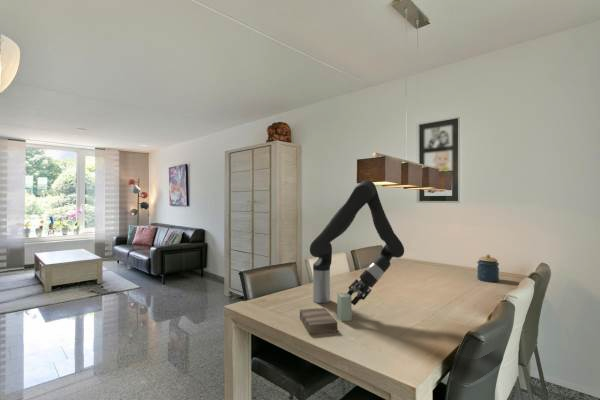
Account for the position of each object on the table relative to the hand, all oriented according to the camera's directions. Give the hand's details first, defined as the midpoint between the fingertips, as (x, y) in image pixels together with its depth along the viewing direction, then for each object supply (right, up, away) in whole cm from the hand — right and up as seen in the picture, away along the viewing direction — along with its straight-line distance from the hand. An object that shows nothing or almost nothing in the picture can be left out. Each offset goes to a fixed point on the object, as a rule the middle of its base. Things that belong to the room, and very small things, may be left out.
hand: (349, 301), depth 143 cm
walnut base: (-15, -8, -7) cm, 19 cm away
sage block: (-2, -8, 0) cm, 8 cm away
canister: (+107, -9, +70) cm, 128 cm away
